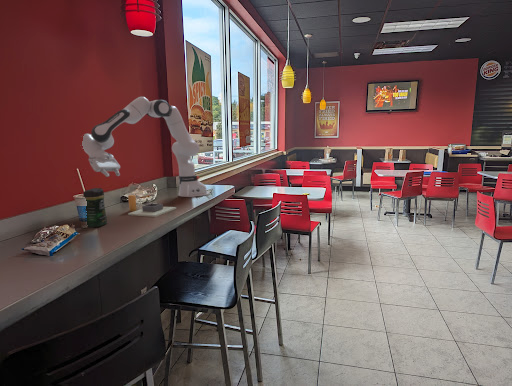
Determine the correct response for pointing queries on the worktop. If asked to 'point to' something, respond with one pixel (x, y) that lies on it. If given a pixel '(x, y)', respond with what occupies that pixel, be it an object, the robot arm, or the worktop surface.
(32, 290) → the worktop surface
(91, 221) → the coffee jar
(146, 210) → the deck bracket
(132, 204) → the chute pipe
